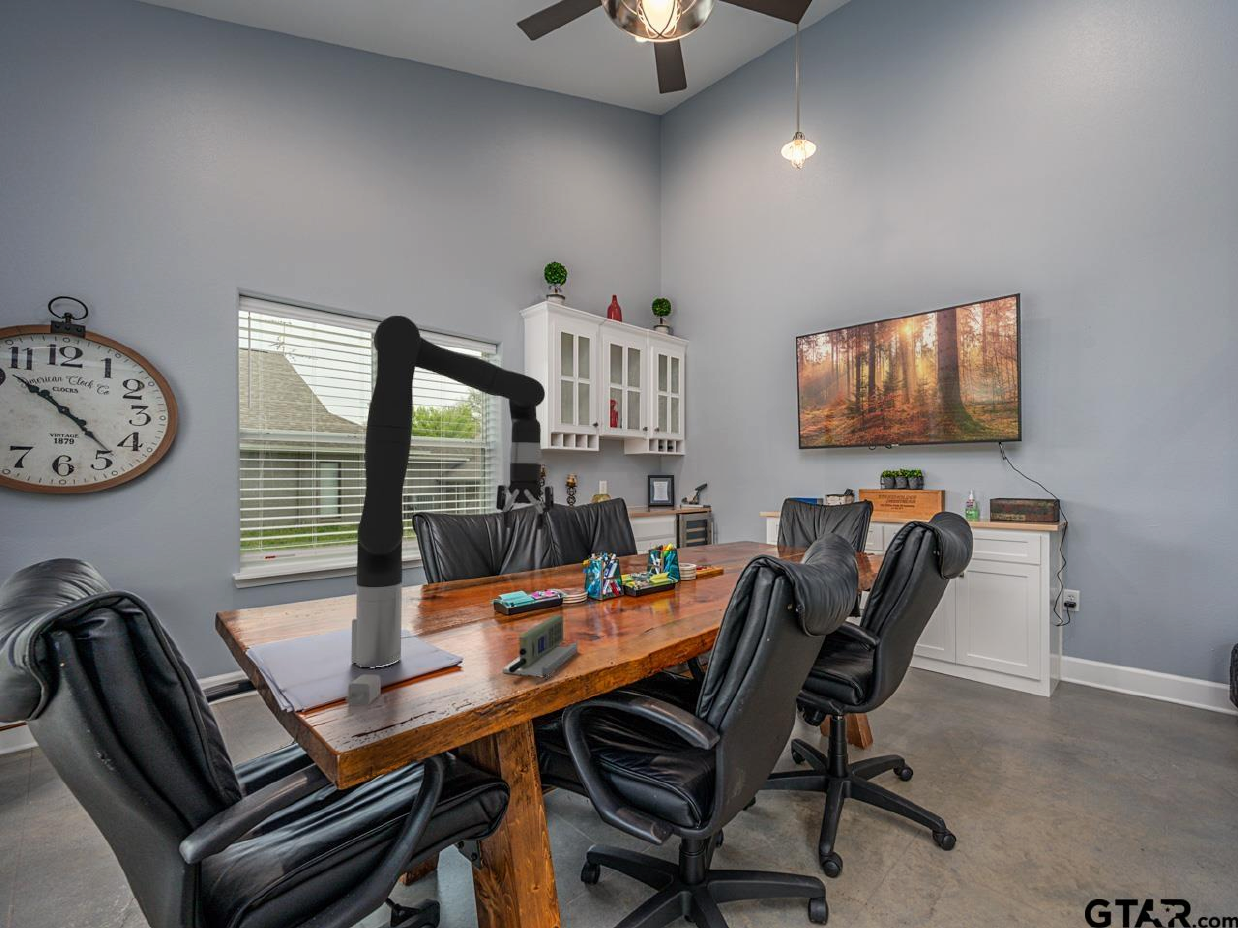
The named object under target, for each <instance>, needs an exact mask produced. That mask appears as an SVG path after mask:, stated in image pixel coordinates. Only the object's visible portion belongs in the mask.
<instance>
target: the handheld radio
mask: <svg viewBox="0 0 1238 928" xmlns="http://www.w3.org/2000/svg"><path fill="white" fill-rule="evenodd" d="M518 640H519V641H518V643H519V644H518V645H519V652H518V653H519V657H520V661H518V662H517V663H515V664H514V665H512V666H511V667H509V671H510V672H511V673H510V674H512V673H513V672H515V671H516V670H517V669H519V668H520V669H526V668H528V667H529V666H530V665H532V664H533V663H534V662H536V661H537V660H538V659H540V658H541V657H543V656H544V655H545V654H547V653H548V652H549V651H551V650H552V649H553V648H555V647H556V646H559V645H560V644H562V643H563V642H564V615H563V614H554V615H552V616H550V617H548V618H546V619H545V620H543V621H541V622H540V623H538V624H537V625H535V626H533V627H532V628H530V629H529V630H527V631H525V632H523V633H522V634H520V635H519V637H518Z"/></svg>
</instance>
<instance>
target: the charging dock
mask: <svg viewBox="0 0 1238 928" xmlns="http://www.w3.org/2000/svg"><path fill="white" fill-rule="evenodd" d="M578 649H579V648H578V642H572V643H571V644H570V645H569V646H561V645H560V646H559V645H557V646H556V647H555V648H553V649H552V650H551V651H549V652H548V653H547V654H545V655H544V656H543V657H541V658H540V659H538V660H537V661H536V662H534V663H533V664H532V665H530V666H529V667H528V668H526V669H520V668H519V669H517V670H516V671H515V672H513V673H511V672H510V671H509V667H511V666H512V665H514V664H515V663H517V662H518V661H520V656H518V657H517V658H515V659H514V660H513V661H511V662H510V663H509V664H506V666H504V667H503V668H502V673H506V674H513V675H520V674H521V676H522V675H523V676H528V675H532V676H531V677H536V676H543V677H542V678H544V677H547V676H548V675H549V676H551V675H552V674H553V673H554V672H555V671H556V670H558V669H559V668H560V667H561V666H562V665H564V662H565V661H566V662H567V661H568V660H569V659H571V658H572V657H573V656H574V655H575V654H577V653H578ZM566 662H565V663H566ZM558 667H559V668H558ZM557 668H558V669H557ZM553 671H554V672H553ZM552 672H553V673H552ZM551 673H552V674H551ZM550 674H551V675H550ZM549 676H548V677H549ZM548 677H547V678H548Z"/></svg>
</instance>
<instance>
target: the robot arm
mask: <svg viewBox="0 0 1238 928" xmlns="http://www.w3.org/2000/svg"><path fill="white" fill-rule="evenodd" d="M373 345H374V347H375V350H376V353H377V354H376V355H377V362H376V363H377V365H376V367H377V368H376V370H377V371H376V381H375V386H374V390H373V393H372V397H371V401H370V405H369V408H368V409H369V410H368V415H367V421H366V431H365V443H364V445H365V446H364V452H365V454H364V458H365V459H364V463H365V464H364V466H365V479H366V480H365V483H366V484H365V495H364V499H363V500H364V501H363V506H362V512H361V517H360V520H359V523H358V524H357V533H356V536H357V543H356V544H357V547H356V548H357V555H356V559H357V560H356V598H355V599H356V600H355V601H356V602H355V603H356V607H355V609H356V610H355V613H356V614H355V618H353V619H352V620H351V659H350V660H351V662H352V663H356V664H355V666H356V665H358V666H361V667H376V666H383V665H386V664H390V663H393V662H395V661H397V660H399V659H400V658H401V659H402V621H403V620H402V615H403V614H402V607H403V593H402V592H403V537H404V524H403V523H404V519H403V517H404V516H403V493H404V484H405V479H406V475H407V469H408V464H409V460H410V452H411V445H412V434H413V418H414V417H413V415H414V413H413V408H414V407H413V406H414V404H413V403H414V401H413V400H414V399H413V398H414V397H413V396H414V395H413V390H414V389H413V388H414V387H413V386H414V385H413V383H414V375H415V369H416V368H417V369H418V368H419V369H421V370H426V371H427V372H428V371H429V372H432V373H434V374H438V375H440V376H444V377H445V378H448V379H450V380H453V381H455V382H457V383H460V384H462V385H465V386H467V387H470V388H472V389H474V390H478V391H480V392H482V393H484V394H487V395H489V396H494V397H502V398H505V399H507V400H508V405H509V413H510V414H509V415H510V420H511V435H510V436H511V437H510V438H511V439H510V441H511V445H510V451H509V456H510V457H509V482H510V483H509V485H506V484H499V485H497V491H496V505H495V506H496V507H495V508H496V510H499V511H502V512H503V526H505V529H506V528H507V529H510V528H512V527H513V512H512V510H513V509H514V508H515V507H516V506H517V505H518V504H531V505H532V506H533V507H534V508H535V509H536V510H537V512H538V514H537V530H544V528H545V527H546V525H547V514H548V513H549V512H553V511H554V510H555V501H554V500H555V499H554V497H555V496H554V487H553V486H552V485H551V486H550V485H548V486H542V483H541V481H542V461H543V460H542V446H541V440H542V439H541V433H542V431H541V429H542V428H541V423H540V421H539V420H538V419H537V407H538V406H540V405H541V404H542V403H543V401H544V399H545V396H546V391H545V388H544V386H543V384H542V383H541V382H540V381H538V380H537V379H535V378H533V377H531V376H528V375H525V374H522V373H518V372H515V371H511V370H508V369H505V368H502V367H500V366H499V365H496V364H493V363H492V362H489V361H487V360H484V359H482V358H479V357H476V356H474V355H471V354H468V353H467V354H466V353H462V352H458V351H456V350H455V351H454V350H451V349H447V348H445V347H441V346H440V345H438V344H435V343H432V342H430V341H428V340H426V339H425V338H423V337H421V333H420V331H419V328H418V327H417V325H416V324H415V323H414V321H412V319H411V318H408V317H407V316H405V315H401V314H394V315H391V316H388V317H386V318H384V319H383V320H382V321H381V322H379V324H378V325H377V328H376V330H375V332H374V337H373ZM508 492H509V493H510V495H511V496H510V497H509V498H508V499H507V494H508ZM541 494H542V495H544V501H543V500H542V498H541V497H540V495H541ZM544 503H545V504H544ZM352 663H351V664H352ZM358 666H357V667H358ZM361 667H360V668H361Z"/></svg>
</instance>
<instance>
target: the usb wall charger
mask: <svg viewBox="0 0 1238 928" xmlns="http://www.w3.org/2000/svg"><path fill="white" fill-rule="evenodd" d="M381 681H382V678H381V676H380V675H378V674H361V675H360V676H358V677H357V678H355V680H353V681H352V682H351V683H349V684H348V686H347V696H346V697H345V702H347V703H348V704H349V706H369V705H370V704H371V703H372V702H373V701H375V700H376V699H377V698H378V697H379V696H380V695H381V689H382V688H381V687H382V686H381Z"/></svg>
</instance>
